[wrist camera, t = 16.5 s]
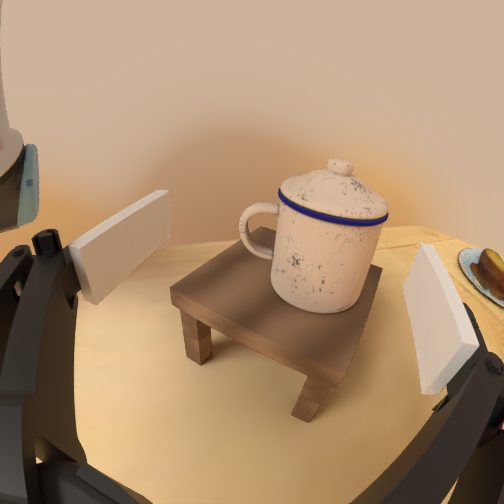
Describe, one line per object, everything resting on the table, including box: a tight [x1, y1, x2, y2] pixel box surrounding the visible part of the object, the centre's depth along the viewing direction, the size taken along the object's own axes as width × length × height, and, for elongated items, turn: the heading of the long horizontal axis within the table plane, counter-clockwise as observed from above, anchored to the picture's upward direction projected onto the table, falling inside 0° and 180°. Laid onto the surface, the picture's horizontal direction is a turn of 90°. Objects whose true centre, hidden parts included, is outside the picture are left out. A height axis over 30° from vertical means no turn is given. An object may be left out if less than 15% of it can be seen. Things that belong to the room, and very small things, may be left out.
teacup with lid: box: [239, 159, 388, 314], centre depth 23 cm, size 12×9×12 cm
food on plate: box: [458, 248, 504, 307], centre depth 44 cm, size 25×10×25 cm
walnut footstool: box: [170, 226, 383, 423], centre depth 29 cm, size 16×16×10 cm
